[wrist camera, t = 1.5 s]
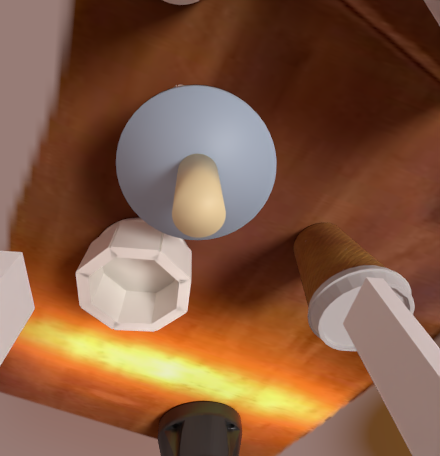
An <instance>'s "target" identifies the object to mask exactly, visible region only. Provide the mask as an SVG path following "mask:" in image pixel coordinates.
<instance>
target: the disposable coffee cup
mask: <svg viewBox="0 0 440 456" xmlns="http://www.w3.org/2000/svg"><path fill="white" fill-rule="evenodd" d="M293 251H294V255H295V259H296V262H297V266H298V270H299V274H300V277H301V281H302V285H303V289H304V292H305V296H306V300H307V304H308V308H309V309H308V322H309V325H310V328H311V329H312V331H313V332H314V333H315V334H316V335H317V336H318V337H319V338H321V339H322V340H323V341H324V342H325V343H326V345H328V346H330V347H332V348H334V349H337V350H342V351H357V350H356V348H355V346H354V344H353V342H352V340H351V338H350V337H349V335H348V333H347V331H346V329H345V327H344V325H343V322H344V320H345V318H346V316H347V314H348V312H349V310H350V308H351V306H352V304H353V302H354V300H355V298H356V296H357V294H358V292H359V290H360V288H361V286H362V284H363V282H364V280H365V278H366V277H371V278H383V279H384V280H385V281H386V282H387V284H388V285H389V286H390V287H391V289H392V290H393V291H394V292H395V294H396V295H397V296H398V297H399V299H400V300H401V301H402V302H403V304H404V305H405V306H406V307H407V309H408V310H409V311H410V312H411V314H412V315H413V312H414V300H413V298H412V296H411V289H410V286H409V283H408V282H407V281H406V279H405V278H403V277H402V276H401V275H400V274H399V273H397V272H394V271H392V270H390V269H388V268H385V267H384V266H383V265H382V264H381V263H379V261H377V260H376V259H375V258H374V257H372V256H371V255H370V254H369V253H367V251H365V250H364V249H363V248H362V247H361V246H360V245H358V244H357V243H356V242H355V241H354V240H352V239H351V238H350V237H349V236H348V235H346V234H345V233H344V232H343V231H342V230H341V229H340V228H338V227H337V226H336V225H333V224H330V223H318V224H314V225H311V226H309V227H307V228H306V229H305V230H303V231H302V232H301V233H300V234H299V235H298V237H297V238H296V240H295V242H294V247H293Z"/></svg>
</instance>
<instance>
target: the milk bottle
mask: <svg viewBox="0 0 440 456" xmlns="http://www.w3.org/2000/svg"><path fill="white" fill-rule="evenodd" d="M163 1H165V2H168V3H171V4H176V5H187V4H192V3H195V2H198V1H200V0H163Z"/></svg>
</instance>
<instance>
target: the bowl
mask: <svg viewBox="0 0 440 456" xmlns="http://www.w3.org/2000/svg"><path fill="white" fill-rule="evenodd" d="M191 261H192V252H191V250H190V249H189V248H188V246H187V244H186V242H185V240H184V239H181V238H177V237H173V236H170V235H167V234H165V233H162V232H160V231H158V230H157V229H155V228H153V227H152V226H150V225H149V224H147V223H146V222H145V221H144V220H142V219H141V218H138V217H137V218H128V219H124V220H121V221H118V222H116V223H114V224H112V225H110V226H109V227H107V228H106V229H105V230H104V231H103V232H102V233H101V235H100V236H99V237H98V238H97V239H96V240H94V241H93V242H92V243H91V244H90V246H89V248H88V250H87V252H86V254H85V256H84V258H83V259H82V261H81V263H80V265H79V267H78V269H77V271H76V281H77V289H78V298H79V306H81V308H82V309H84V310H85V311H86V312H88V313H89V314H91V315H92V316H94V317H95V318H97V319H98V320H100V321H101V322H102V323H104V324H105V325H107V326H108V327H110V328H111V329H113V328H114V330H130V331H155V330H156V331H157V330H159V329H161V328H162V327H164V326H165V325H167V324H169V323H170V322H172V321H174V320H175V319H177V318H178V317H180V316H182V315H183V314H185V313H186V311H187V310H188V302H189V294H190V286H191Z"/></svg>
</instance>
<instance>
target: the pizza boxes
mask: <svg viewBox="0 0 440 456" xmlns="http://www.w3.org/2000/svg"><path fill="white" fill-rule="evenodd" d="M424 2H425V3H426V5H427V7H428V8H429V10H430V11H431V13H432V15H433V16H434V18H435V19H436V21H437V23H438V24H439V26H440V0H424Z"/></svg>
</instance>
